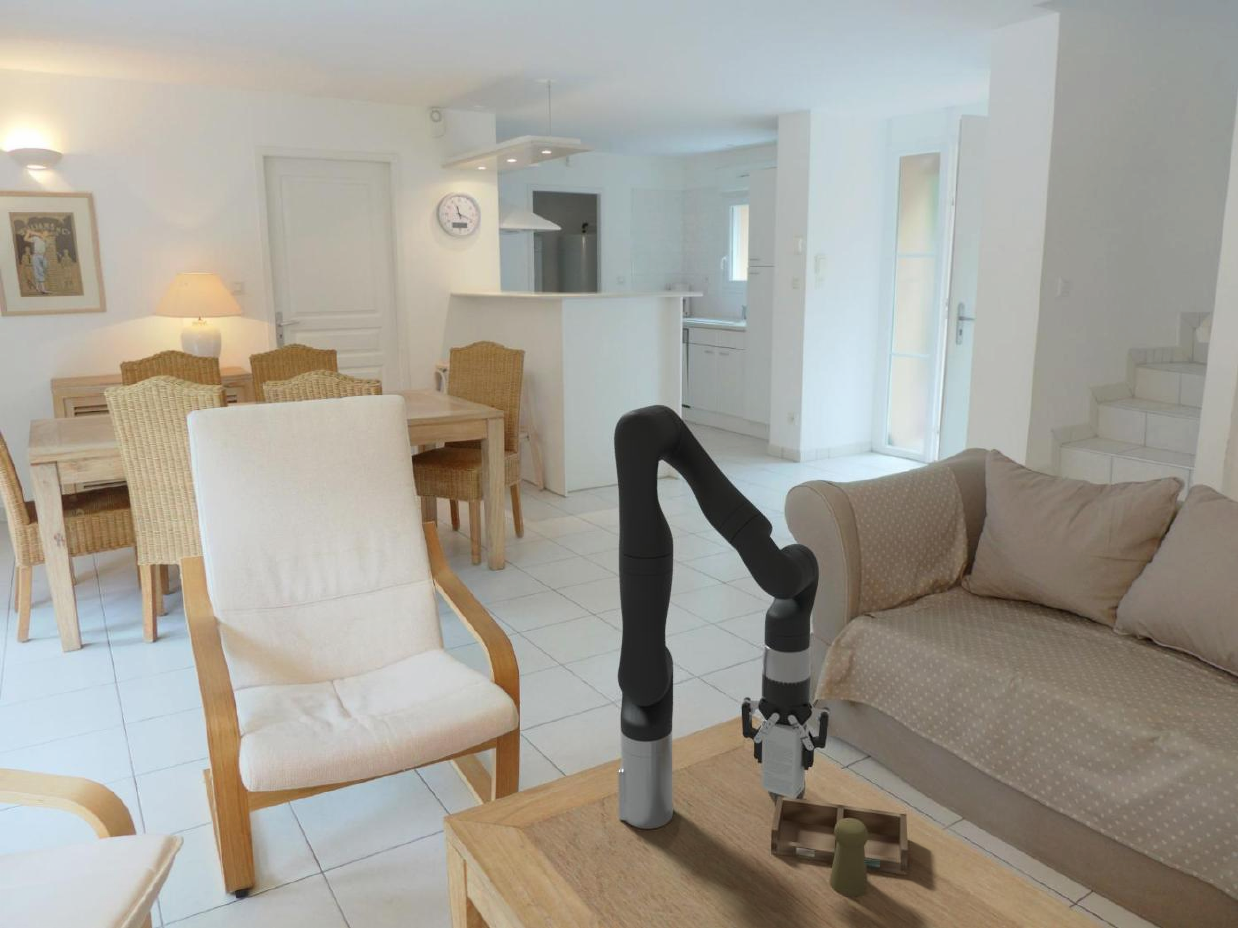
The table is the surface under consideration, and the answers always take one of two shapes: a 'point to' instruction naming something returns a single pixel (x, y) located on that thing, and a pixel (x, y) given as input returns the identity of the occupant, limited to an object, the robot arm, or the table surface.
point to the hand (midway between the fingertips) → (783, 763)
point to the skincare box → (783, 761)
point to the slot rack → (812, 835)
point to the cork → (850, 858)
